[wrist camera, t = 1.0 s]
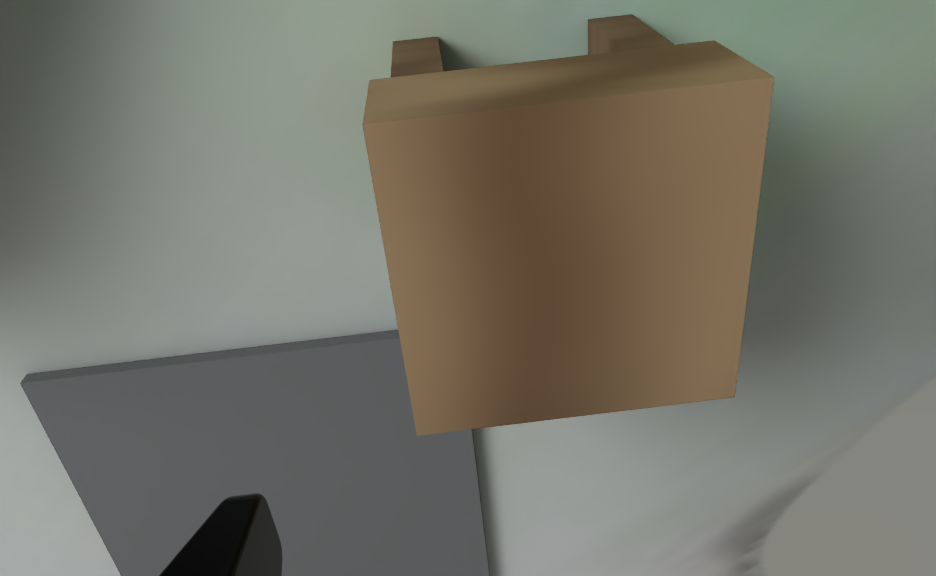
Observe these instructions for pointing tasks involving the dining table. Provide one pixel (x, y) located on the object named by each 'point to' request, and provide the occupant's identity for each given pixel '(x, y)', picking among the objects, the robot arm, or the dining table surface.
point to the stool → (568, 225)
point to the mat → (268, 457)
